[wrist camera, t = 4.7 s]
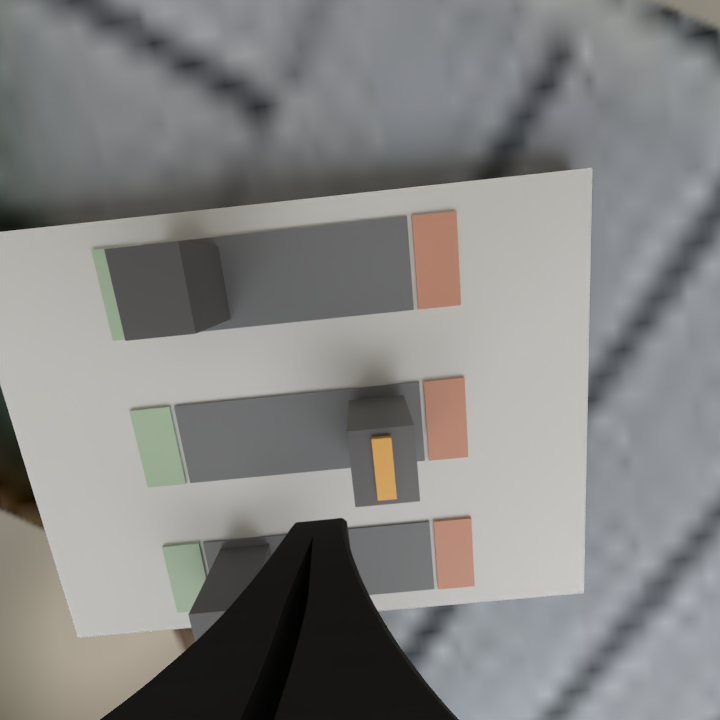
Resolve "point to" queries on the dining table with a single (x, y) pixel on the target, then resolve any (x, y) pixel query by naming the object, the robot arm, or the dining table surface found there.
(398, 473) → the breaker
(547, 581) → the panel
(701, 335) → the dining table surface
